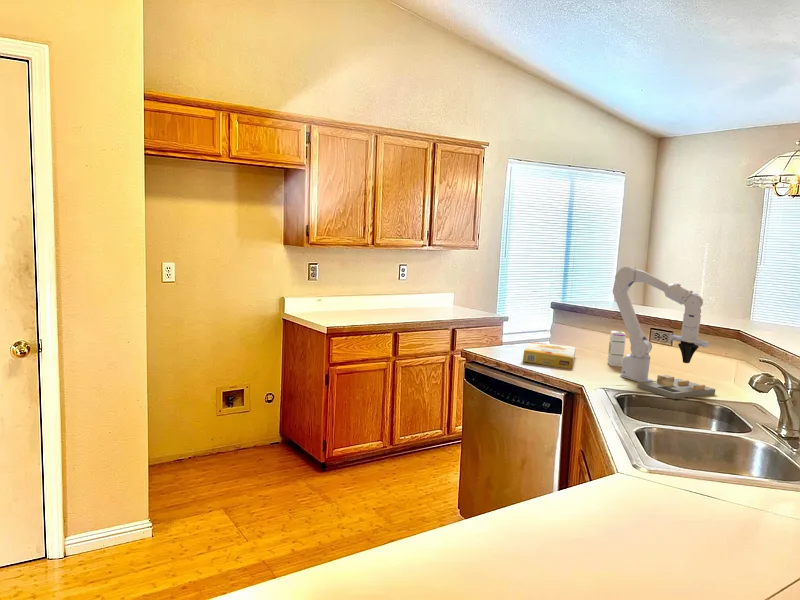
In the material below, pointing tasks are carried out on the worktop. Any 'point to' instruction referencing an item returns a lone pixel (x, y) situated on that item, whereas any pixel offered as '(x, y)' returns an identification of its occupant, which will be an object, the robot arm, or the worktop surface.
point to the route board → (677, 389)
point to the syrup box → (616, 348)
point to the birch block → (665, 380)
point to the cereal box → (549, 355)
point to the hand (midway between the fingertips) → (686, 362)
